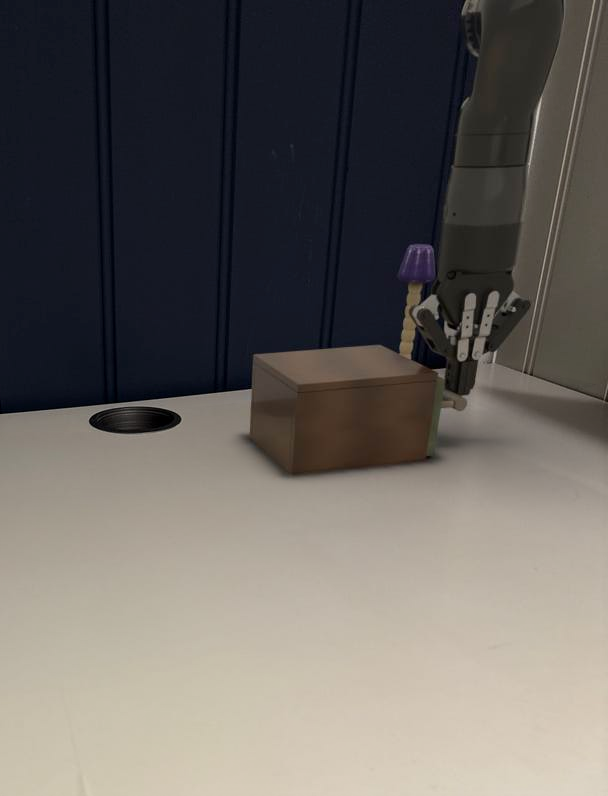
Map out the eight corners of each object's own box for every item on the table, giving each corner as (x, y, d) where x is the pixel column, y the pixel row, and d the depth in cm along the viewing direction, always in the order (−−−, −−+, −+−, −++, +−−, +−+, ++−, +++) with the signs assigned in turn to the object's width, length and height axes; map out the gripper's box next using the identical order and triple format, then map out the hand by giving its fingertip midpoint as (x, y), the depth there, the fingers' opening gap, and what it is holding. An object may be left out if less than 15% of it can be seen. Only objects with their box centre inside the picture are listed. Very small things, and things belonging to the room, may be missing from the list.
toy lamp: (428, 379, 124) (447, 245, 116) (404, 385, 122) (422, 249, 113) (400, 372, 128) (417, 241, 119) (377, 378, 125) (392, 245, 117)
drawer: (418, 420, 106) (427, 350, 102) (471, 451, 96) (484, 375, 92) (270, 434, 103) (275, 362, 99) (311, 468, 93) (317, 390, 89)
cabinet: (370, 430, 106) (380, 344, 101) (425, 466, 95) (438, 372, 90) (248, 442, 103) (253, 354, 98) (291, 480, 93) (298, 384, 88)
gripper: (440, 225, 86) (418, 410, 95) (567, 216, 88) (534, 397, 97) (401, 217, 92) (384, 391, 101) (520, 209, 95) (494, 379, 103)
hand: (457, 394), depth 99 cm, fingers closed
